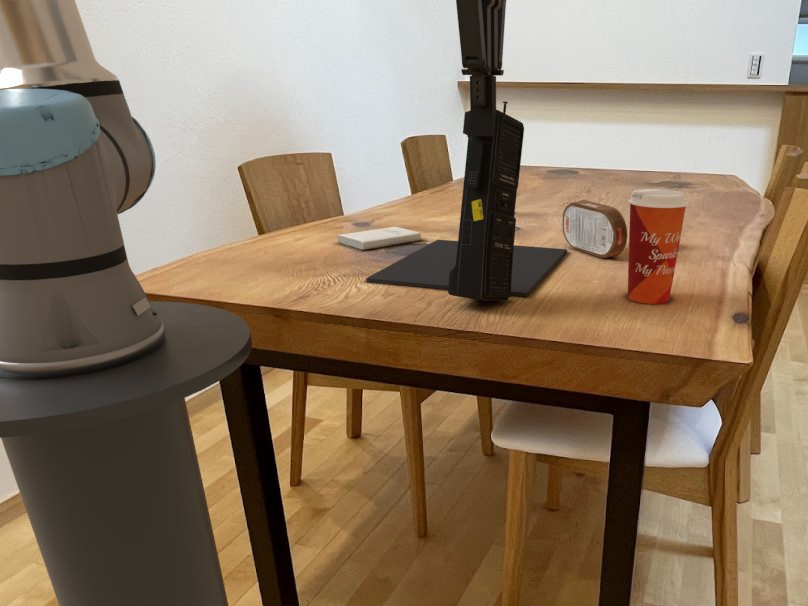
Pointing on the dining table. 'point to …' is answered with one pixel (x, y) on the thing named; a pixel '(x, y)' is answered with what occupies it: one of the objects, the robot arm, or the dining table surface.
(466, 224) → the portable radio
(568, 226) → the tin
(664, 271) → the paper cup
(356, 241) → the hard drive
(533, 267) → the mat
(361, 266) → the dining table surface
